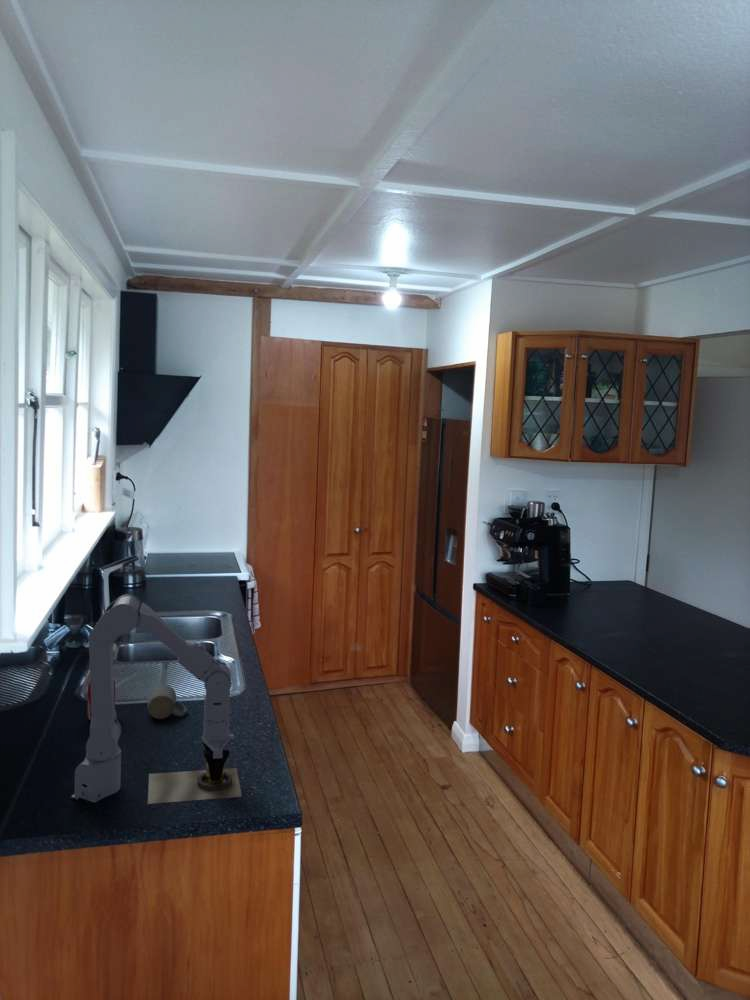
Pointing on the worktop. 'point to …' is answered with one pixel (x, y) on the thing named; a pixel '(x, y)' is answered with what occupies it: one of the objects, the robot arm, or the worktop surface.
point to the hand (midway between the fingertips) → (214, 775)
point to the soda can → (90, 700)
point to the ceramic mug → (164, 702)
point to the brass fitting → (214, 780)
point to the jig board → (191, 786)
